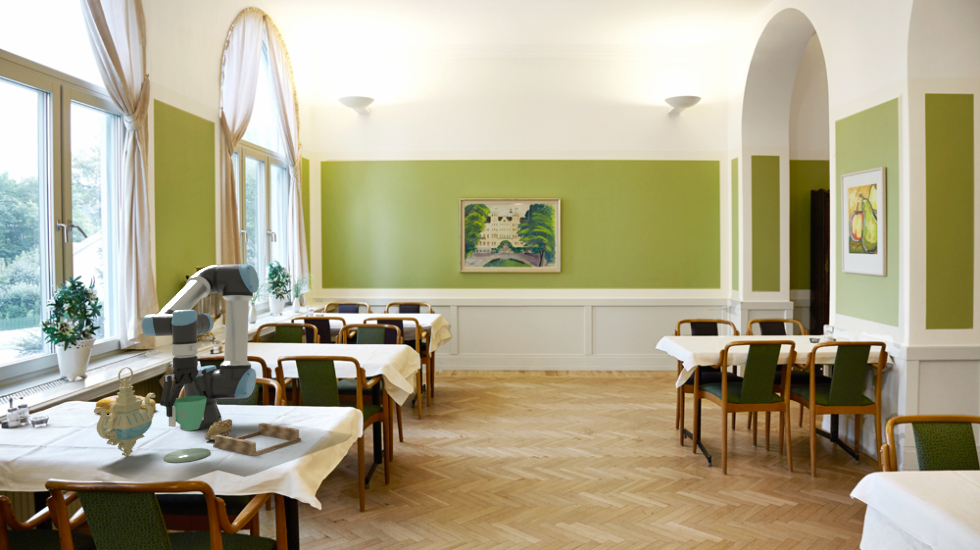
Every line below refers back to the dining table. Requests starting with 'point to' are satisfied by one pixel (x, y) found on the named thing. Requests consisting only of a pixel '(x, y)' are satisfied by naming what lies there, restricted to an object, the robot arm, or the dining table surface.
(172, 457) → the coaster
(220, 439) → the oak frame
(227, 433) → the seashell
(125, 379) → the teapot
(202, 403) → the mug
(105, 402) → the bread
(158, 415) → the dining table surface
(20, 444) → the dining table surface
